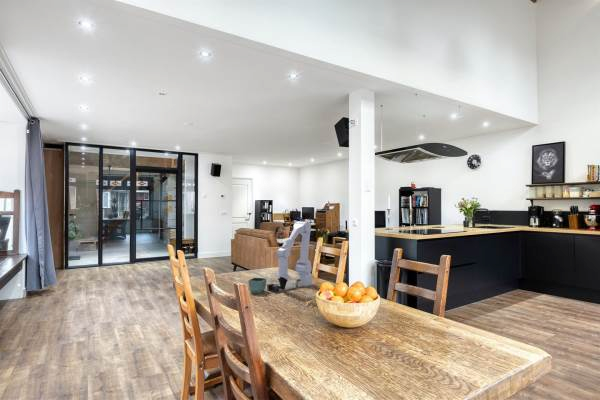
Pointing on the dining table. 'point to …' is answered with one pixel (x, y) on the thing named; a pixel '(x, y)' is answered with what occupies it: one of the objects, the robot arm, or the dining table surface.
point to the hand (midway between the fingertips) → (282, 289)
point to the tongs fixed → (298, 282)
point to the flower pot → (257, 285)
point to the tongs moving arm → (288, 286)
